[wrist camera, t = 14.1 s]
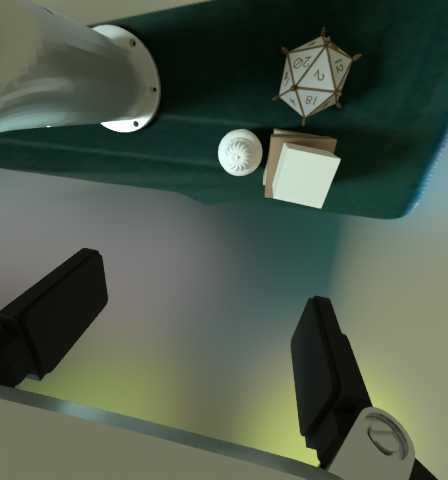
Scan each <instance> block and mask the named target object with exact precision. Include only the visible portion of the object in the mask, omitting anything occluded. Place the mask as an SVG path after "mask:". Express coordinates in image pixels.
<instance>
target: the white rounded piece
mask: <svg viewBox="0 0 448 480" xmlns="http://www.w3.org/2000/svg"><path fill="white" fill-rule="evenodd" d="M218 156H219V160H220V163H221V165H222V166H223V168H224V169H225V170H226V171H227V172H229V173H230V174H232V175H235V176H243V175H247V174H249V173H251V172H253V171H254V170H255V169H256V168H257V167H258V165H259V164H260V162H261V159H262V146H261V143H260V141H259V140H258V138H257V137H256V136H255V135H254V134H253V133H252V132H250V131H248V130H245V129H238V130H234V131H232V132H230V133H228V134H227V135H226V136H225V137H224V138H223V139H222V141H221V143H220V145H219V150H218Z"/></svg>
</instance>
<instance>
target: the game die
mask: <svg viewBox="0 0 448 480" xmlns="http://www.w3.org/2000/svg"><path fill="white" fill-rule="evenodd" d="M325 32H326V29H325V26H324V27H323V29H322V30H321V33H320V34H321V36H320V37H318V38H316V39H314V40H312V41H310V42H308V43H306V44H304V45H301V46H299V47H297V48H295V49H293V50H291V51H288V49H287V48H286V47H282V52H283V53H284V54H286V60H285V65H284V71H283V76H282V81H281V86H280V91H279V95H276V96H274V98H273V99H272V100H275V101H276V100H278V98H281V99H282V100H283V101H284V102H285V103H286V104H288V105H289V106H290V107H291V108H292V109H294V110H295V111H296V112H297V113H298V114H300V115H301V116H302V117H303V120H302V124H303V126H304V125H305V124H306V121H307V120H306V118H307V117H310V116H312V115H314V114H316V113H318V112H320V111H322V110H324V109H326V108H328V107H330V106H332V105H334V104H336V106H337V108H338V107H340V108H341V103H340V102H338V99H339V96H340V95H341V91H342V88H343V86H344V83H345V80H346V78H347V75H348V72H349V70H350V67H351V65H352V62H353V61H356V60H357V59H358V60H359V58H360V57H361V55H362V54H357V55H355V56H354V57H351V56H349V55H348V54H347V53H345V52H344V51H343V50H341V49H340V48H339V47H338V46H336V45H335V44H334V43H332V42H331V39H330V36H329V37H328V38H326V37H324V35H325Z"/></svg>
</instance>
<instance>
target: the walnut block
mask: <svg viewBox="0 0 448 480" xmlns="http://www.w3.org/2000/svg"><path fill="white" fill-rule="evenodd" d="M284 142H286V143H291V144H296V145H301V146H306V147H311V148H316V149H320V150H325V151H329V152H331V153H332V154H334V151H335V146H336V142H337V140H336V139H334V138H331V137H329V136H308V135H282V134H271V139H270V148H269V157H268V166H267V175H266V184H265V197H269V198H273V188H272V184H273V180H274V177H275V173H276V170H277V166H278V162H279V159H280V155H281V152H282V148H283V145H284Z"/></svg>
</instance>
